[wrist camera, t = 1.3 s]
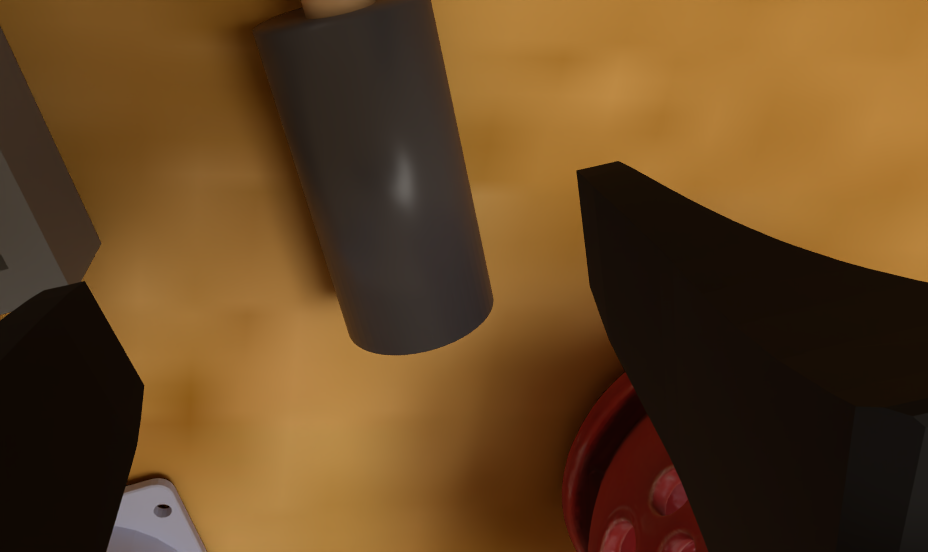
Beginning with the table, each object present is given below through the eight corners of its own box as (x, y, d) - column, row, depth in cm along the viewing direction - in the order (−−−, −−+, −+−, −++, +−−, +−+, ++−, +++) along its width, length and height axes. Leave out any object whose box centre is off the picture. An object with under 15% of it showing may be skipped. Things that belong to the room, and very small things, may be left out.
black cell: (450, 260, 24) (521, 310, 20) (328, 313, 22) (382, 375, 19) (381, -42, 20) (454, -41, 16) (225, 0, 18) (271, 10, 15)
